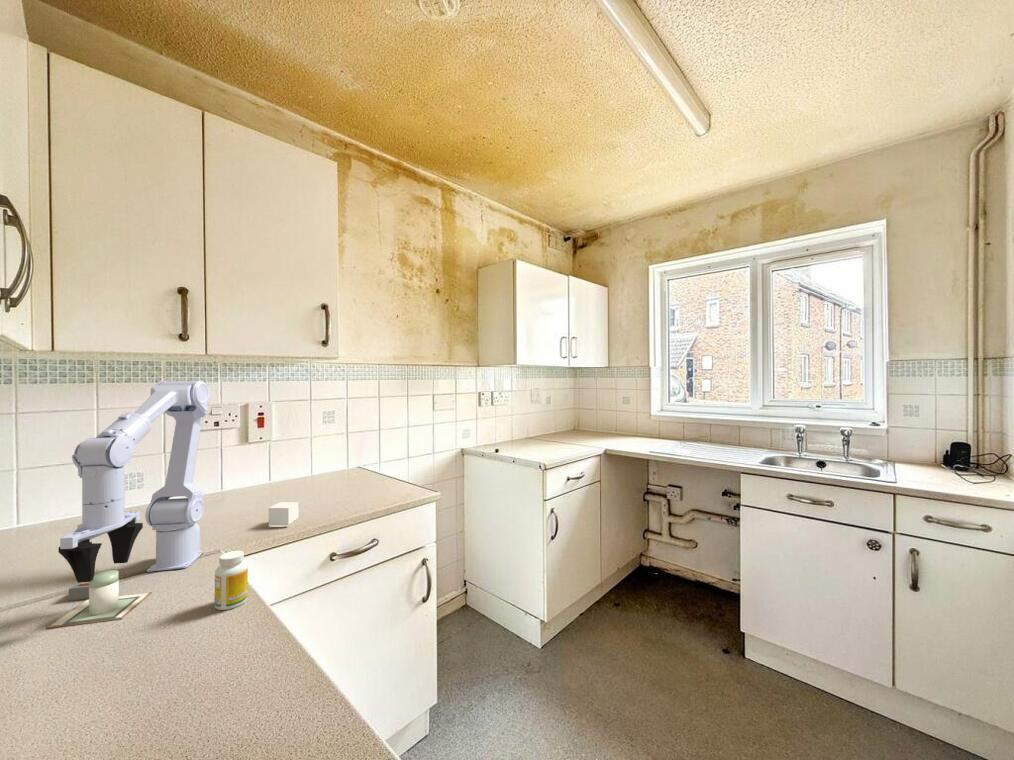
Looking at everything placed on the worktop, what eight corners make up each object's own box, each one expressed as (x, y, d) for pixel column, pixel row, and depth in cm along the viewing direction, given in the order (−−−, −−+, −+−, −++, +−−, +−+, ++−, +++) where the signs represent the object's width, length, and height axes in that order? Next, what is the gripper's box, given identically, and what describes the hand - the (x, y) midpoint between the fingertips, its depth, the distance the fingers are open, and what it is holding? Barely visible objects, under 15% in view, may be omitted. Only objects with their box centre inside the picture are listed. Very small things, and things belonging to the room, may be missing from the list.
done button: (90, 583, 85) (90, 577, 85) (106, 581, 86) (106, 575, 86) (80, 589, 82) (80, 583, 82) (97, 587, 83) (97, 582, 83)
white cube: (288, 528, 122) (288, 508, 122) (268, 528, 122) (268, 508, 122) (298, 521, 128) (298, 502, 128) (279, 521, 128) (279, 502, 128)
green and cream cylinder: (99, 605, 79) (99, 571, 79) (123, 602, 80) (123, 569, 80) (83, 616, 75) (83, 581, 75) (109, 613, 76) (108, 578, 76)
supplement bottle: (208, 611, 77) (208, 561, 77) (225, 597, 82) (225, 549, 82) (238, 610, 77) (238, 559, 77) (253, 595, 83) (253, 548, 83)
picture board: (86, 600, 81) (86, 599, 81) (151, 593, 84) (151, 591, 84) (46, 628, 72) (46, 627, 72) (121, 619, 75) (121, 617, 75)
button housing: (87, 588, 86) (87, 577, 86) (116, 585, 87) (116, 573, 87) (68, 600, 81) (68, 588, 81) (100, 597, 82) (100, 585, 82)
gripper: (114, 490, 84) (114, 556, 84) (40, 513, 70) (40, 592, 70) (150, 489, 85) (150, 554, 85) (85, 511, 70) (85, 590, 70)
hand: (103, 571), depth 77 cm, fingers open, 7 cm apart
